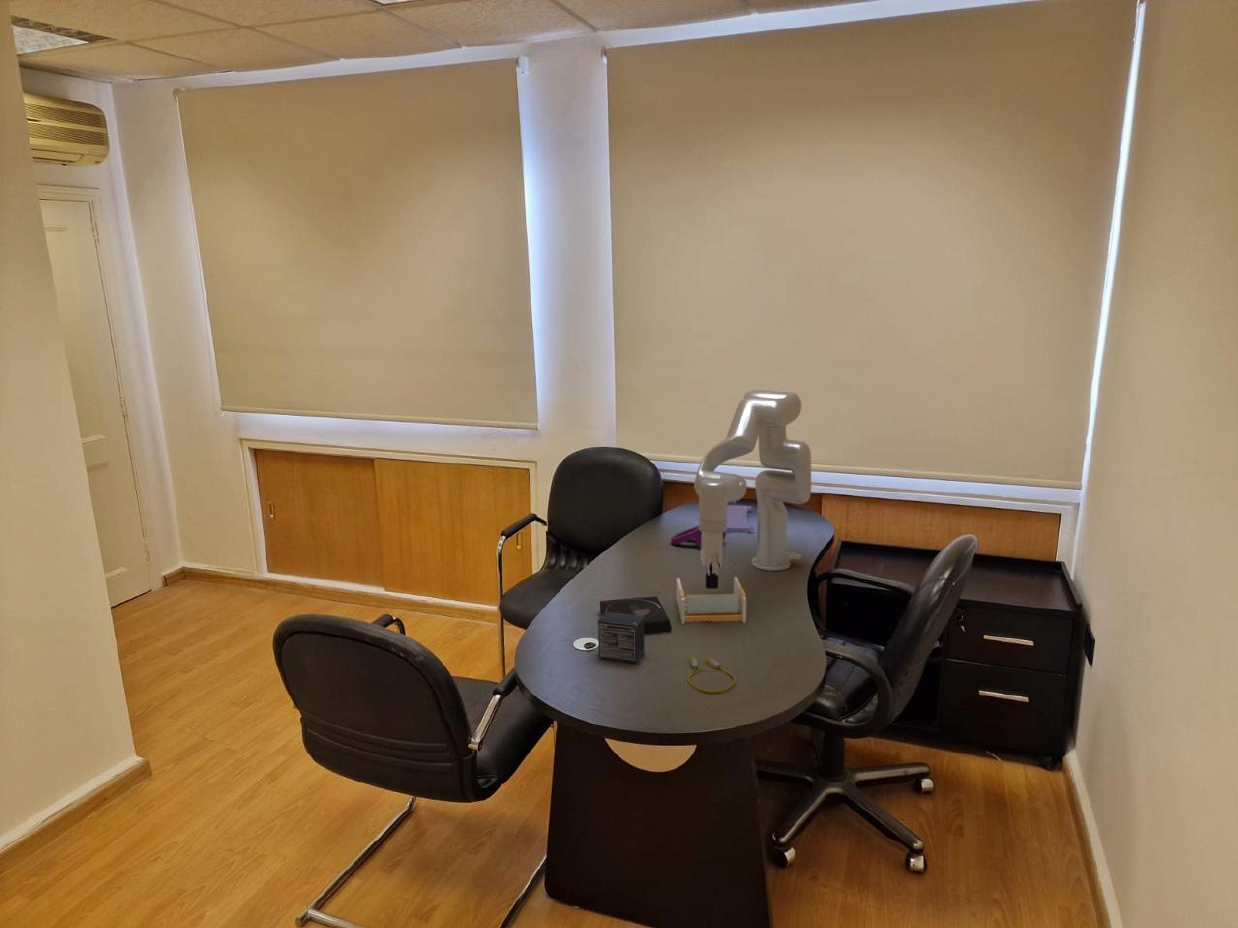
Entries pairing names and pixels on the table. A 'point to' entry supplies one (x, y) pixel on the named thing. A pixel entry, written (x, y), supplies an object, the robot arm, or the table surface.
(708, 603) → the panel
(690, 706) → the table surface
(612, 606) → the portable cd player
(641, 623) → the small box
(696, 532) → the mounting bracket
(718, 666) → the extension cord
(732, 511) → the computer part
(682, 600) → the rack
